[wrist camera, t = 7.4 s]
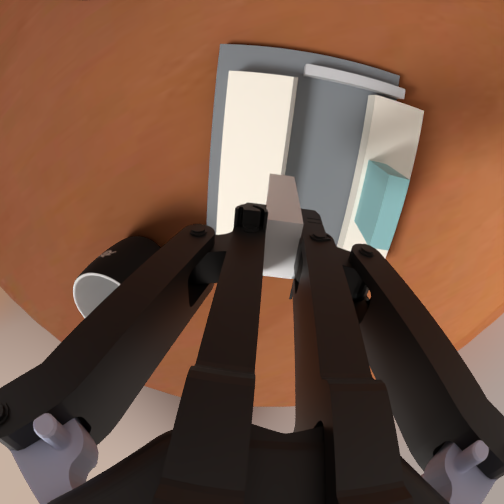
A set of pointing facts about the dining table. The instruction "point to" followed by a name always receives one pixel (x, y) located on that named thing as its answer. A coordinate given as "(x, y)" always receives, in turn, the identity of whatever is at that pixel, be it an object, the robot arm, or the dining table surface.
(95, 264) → the mug
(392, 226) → the white long block
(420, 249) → the dining table surface
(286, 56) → the board
